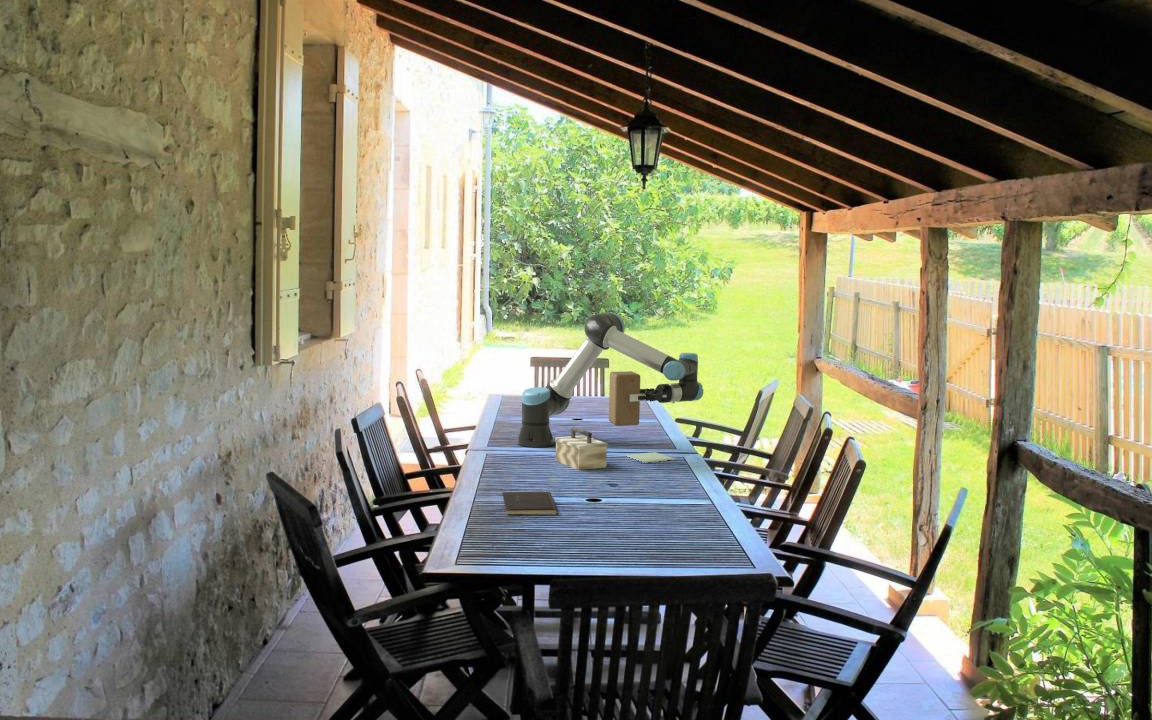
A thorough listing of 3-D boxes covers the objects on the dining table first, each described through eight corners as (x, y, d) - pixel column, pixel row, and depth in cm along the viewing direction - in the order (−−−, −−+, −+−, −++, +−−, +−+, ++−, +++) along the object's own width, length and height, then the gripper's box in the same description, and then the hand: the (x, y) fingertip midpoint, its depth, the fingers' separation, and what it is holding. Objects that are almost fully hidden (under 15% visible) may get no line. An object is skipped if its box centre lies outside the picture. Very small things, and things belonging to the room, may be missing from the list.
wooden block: (640, 425, 389) (641, 374, 387) (615, 426, 387) (616, 374, 384) (632, 421, 399) (633, 371, 396) (608, 421, 396) (609, 371, 394)
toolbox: (554, 460, 391) (555, 426, 390) (583, 458, 398) (584, 424, 396) (578, 470, 376) (579, 434, 374) (608, 467, 382) (609, 432, 381)
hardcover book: (505, 516, 310) (505, 509, 309) (502, 498, 332) (502, 491, 332) (557, 516, 311) (557, 508, 311) (550, 498, 334) (550, 491, 334)
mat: (626, 456, 403) (626, 455, 403) (654, 453, 410) (654, 452, 410) (645, 463, 391) (645, 461, 391) (675, 460, 398) (675, 458, 398)
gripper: (685, 406, 391) (638, 409, 381) (651, 398, 412) (605, 401, 401) (685, 387, 390) (638, 390, 380) (651, 380, 411) (605, 382, 400)
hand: (621, 396), depth 391 cm, fingers closed on wooden block, 12 cm apart
